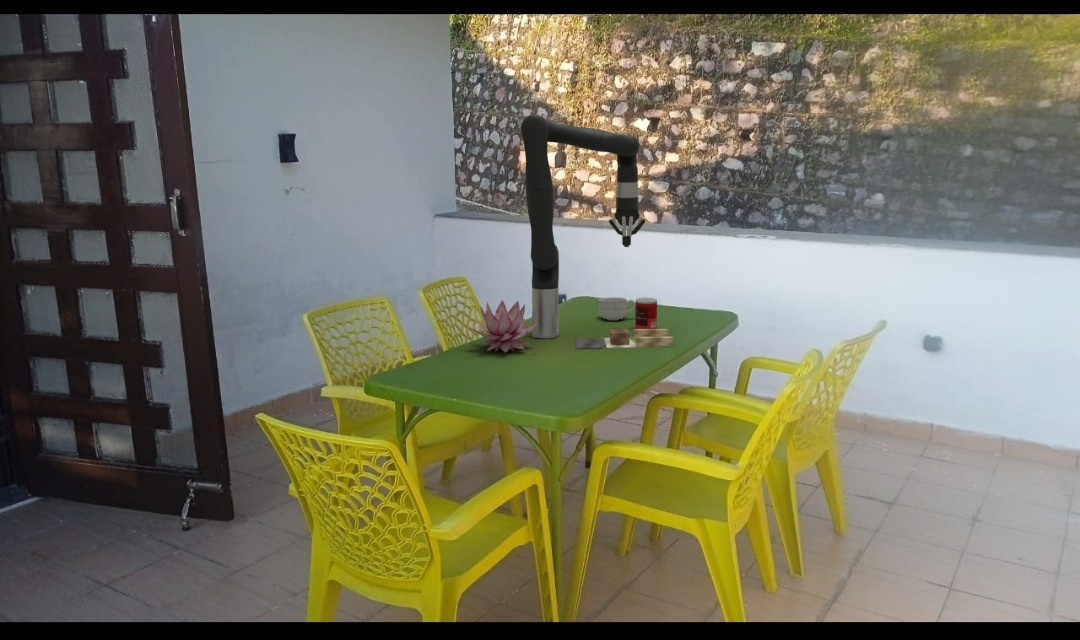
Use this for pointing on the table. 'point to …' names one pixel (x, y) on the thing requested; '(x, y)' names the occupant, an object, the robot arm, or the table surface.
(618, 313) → the teacup
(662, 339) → the corridor track
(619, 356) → the table surface
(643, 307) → the canned food
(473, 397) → the table surface
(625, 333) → the walnut block
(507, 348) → the decorative flower
